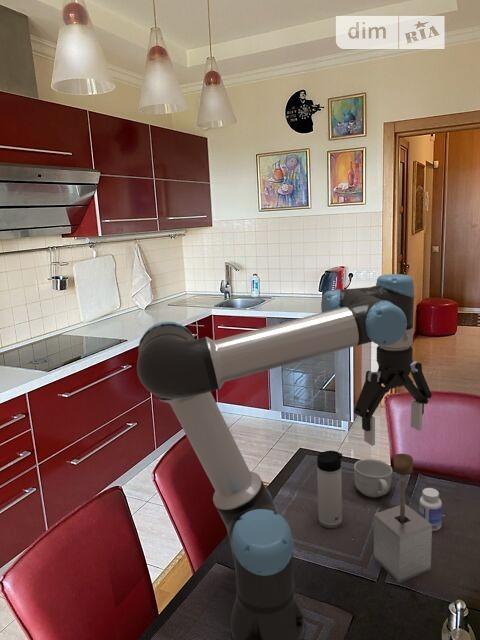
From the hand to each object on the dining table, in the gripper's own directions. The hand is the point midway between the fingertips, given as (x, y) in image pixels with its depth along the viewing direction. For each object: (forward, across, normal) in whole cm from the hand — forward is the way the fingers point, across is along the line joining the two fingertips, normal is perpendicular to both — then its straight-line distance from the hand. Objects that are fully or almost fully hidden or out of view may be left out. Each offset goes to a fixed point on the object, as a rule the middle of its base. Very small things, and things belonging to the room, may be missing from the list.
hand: (393, 435), depth 112 cm
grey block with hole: (+31, 0, -2) cm, 31 cm away
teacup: (+32, +13, +22) cm, 41 cm away
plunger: (+22, 0, -3) cm, 22 cm away
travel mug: (+32, -5, +18) cm, 37 cm away
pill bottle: (+32, +16, +4) cm, 36 cm away
